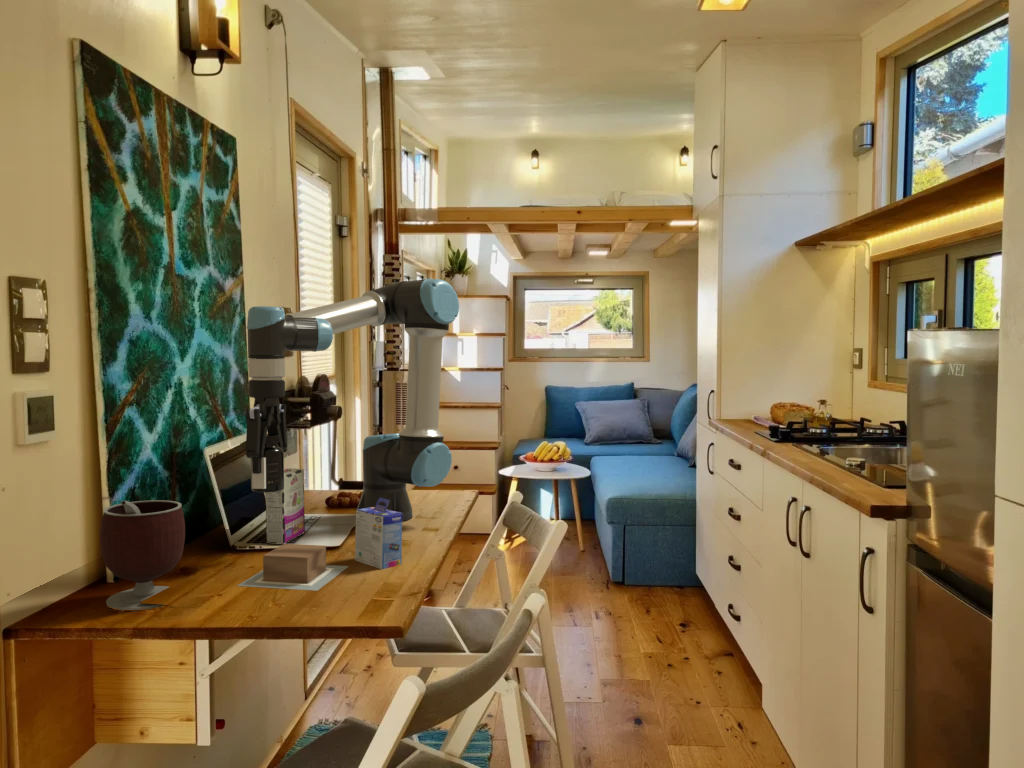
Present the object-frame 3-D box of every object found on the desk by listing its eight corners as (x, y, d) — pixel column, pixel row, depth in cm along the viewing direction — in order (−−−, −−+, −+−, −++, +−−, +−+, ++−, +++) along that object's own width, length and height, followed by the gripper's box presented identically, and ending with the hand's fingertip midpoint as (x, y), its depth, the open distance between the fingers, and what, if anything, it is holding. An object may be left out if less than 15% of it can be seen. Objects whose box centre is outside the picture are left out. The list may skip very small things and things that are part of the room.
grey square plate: (276, 567, 158) (276, 561, 157) (348, 571, 155) (348, 565, 155) (237, 591, 142) (237, 585, 142) (317, 596, 139) (317, 590, 139)
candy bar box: (286, 533, 188) (286, 467, 187) (305, 534, 187) (305, 468, 186) (264, 544, 177) (264, 475, 176) (284, 545, 176) (284, 476, 175)
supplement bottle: (249, 488, 163) (249, 433, 163) (282, 486, 166) (281, 432, 165) (252, 494, 157) (251, 437, 156) (285, 491, 160) (285, 435, 159)
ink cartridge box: (403, 569, 157) (403, 501, 157) (382, 575, 153) (382, 505, 152) (374, 560, 164) (375, 495, 163) (353, 565, 160) (353, 498, 159)
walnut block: (284, 567, 154) (284, 543, 153) (326, 570, 152) (326, 545, 152) (263, 581, 145) (263, 555, 144) (307, 583, 143) (307, 557, 143)
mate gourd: (120, 588, 143) (119, 484, 142) (196, 587, 144) (195, 484, 143) (82, 617, 128) (80, 501, 127) (166, 615, 129) (165, 500, 128)
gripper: (271, 376, 171) (272, 476, 172) (225, 380, 151) (227, 493, 152) (303, 377, 170) (303, 477, 171) (260, 381, 150) (261, 494, 151)
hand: (267, 485), depth 161 cm, fingers closed on supplement bottle, 7 cm apart
